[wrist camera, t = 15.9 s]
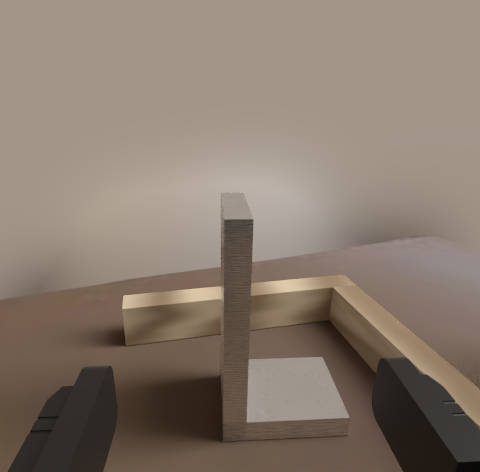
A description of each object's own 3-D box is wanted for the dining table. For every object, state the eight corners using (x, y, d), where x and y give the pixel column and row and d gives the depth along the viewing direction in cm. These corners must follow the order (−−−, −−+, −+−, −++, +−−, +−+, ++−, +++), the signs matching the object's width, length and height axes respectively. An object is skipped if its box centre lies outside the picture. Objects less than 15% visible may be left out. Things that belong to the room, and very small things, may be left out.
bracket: (222, 441, 19) (224, 219, 15) (220, 375, 24) (220, 192, 20) (347, 435, 20) (378, 218, 16) (320, 372, 25) (340, 193, 21)
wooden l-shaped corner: (112, 567, 14) (103, 510, 13) (126, 330, 29) (123, 295, 28) (499, 466, 18) (515, 418, 17) (339, 305, 33) (343, 274, 32)
